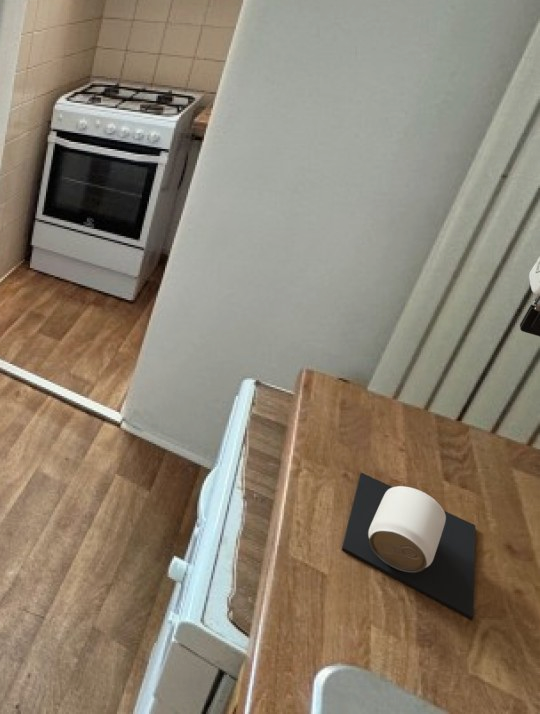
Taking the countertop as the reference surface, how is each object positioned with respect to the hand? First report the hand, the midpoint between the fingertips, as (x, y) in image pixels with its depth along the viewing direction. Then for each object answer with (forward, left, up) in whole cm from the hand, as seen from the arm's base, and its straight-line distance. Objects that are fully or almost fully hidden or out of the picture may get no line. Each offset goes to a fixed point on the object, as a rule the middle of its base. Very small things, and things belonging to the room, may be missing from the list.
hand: (534, 332), depth 91 cm
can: (+5, +22, -23) cm, 32 cm away
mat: (+5, +25, -27) cm, 37 cm away
